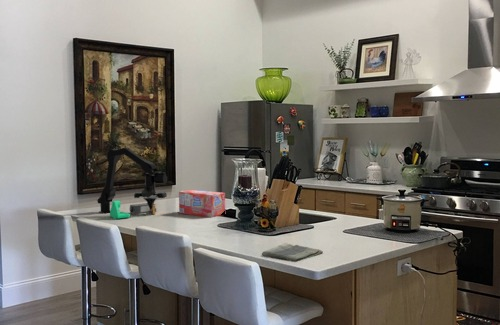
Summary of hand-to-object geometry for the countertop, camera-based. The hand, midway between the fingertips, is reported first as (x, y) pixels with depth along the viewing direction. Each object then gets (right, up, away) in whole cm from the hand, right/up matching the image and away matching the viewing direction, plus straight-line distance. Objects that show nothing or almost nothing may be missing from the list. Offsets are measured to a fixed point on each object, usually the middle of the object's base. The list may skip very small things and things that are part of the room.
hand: (150, 209), depth 341 cm
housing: (-6, -2, +6) cm, 9 cm away
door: (+2, -2, +2) cm, 4 cm away
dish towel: (+77, -10, -113) cm, 137 cm away
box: (+31, -3, -5) cm, 32 cm away
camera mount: (-16, -4, -12) cm, 20 cm away
